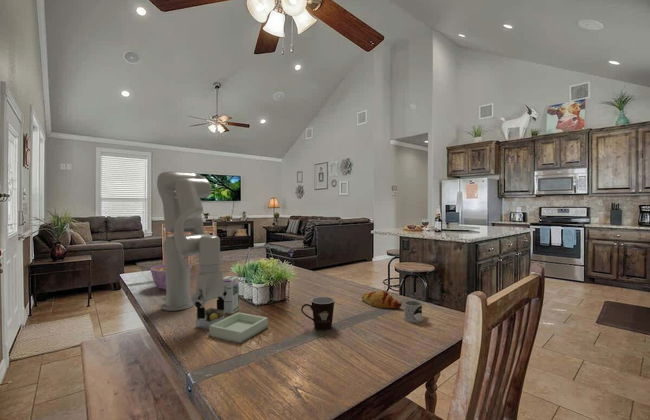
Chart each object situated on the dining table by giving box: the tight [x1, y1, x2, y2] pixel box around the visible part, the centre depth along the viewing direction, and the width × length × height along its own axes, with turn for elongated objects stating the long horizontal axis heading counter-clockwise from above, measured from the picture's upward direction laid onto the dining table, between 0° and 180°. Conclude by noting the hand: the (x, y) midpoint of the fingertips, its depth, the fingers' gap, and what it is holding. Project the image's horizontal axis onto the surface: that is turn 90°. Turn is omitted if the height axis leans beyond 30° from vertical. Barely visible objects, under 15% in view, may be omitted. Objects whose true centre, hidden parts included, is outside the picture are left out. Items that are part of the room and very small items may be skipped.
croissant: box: [361, 290, 402, 310], centre depth 144 cm, size 21×10×8 cm, turn 47°
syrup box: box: [223, 275, 240, 315], centre depth 136 cm, size 6×6×14 cm
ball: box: [210, 313, 218, 321], centre depth 122 cm, size 3×3×3 cm
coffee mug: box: [301, 296, 335, 331], centre depth 119 cm, size 12×9×10 cm
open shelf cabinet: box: [195, 307, 226, 331], centre depth 120 cm, size 7×7×5 cm
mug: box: [403, 300, 423, 324], centre depth 126 cm, size 10×7×7 cm
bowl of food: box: [150, 264, 192, 291], centre depth 172 cm, size 20×20×12 cm
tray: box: [208, 312, 269, 344], centre depth 114 cm, size 14×15×4 cm
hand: (211, 314), depth 120 cm, fingers open, 9 cm apart
